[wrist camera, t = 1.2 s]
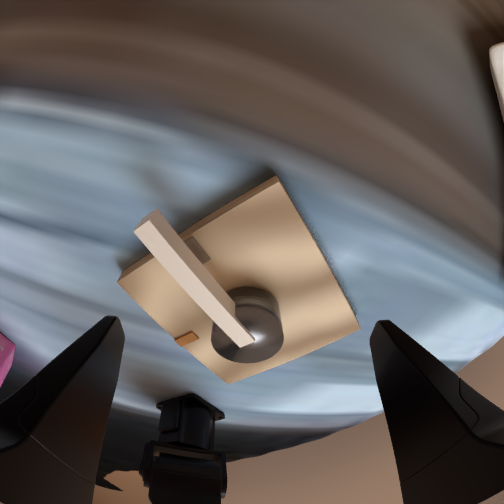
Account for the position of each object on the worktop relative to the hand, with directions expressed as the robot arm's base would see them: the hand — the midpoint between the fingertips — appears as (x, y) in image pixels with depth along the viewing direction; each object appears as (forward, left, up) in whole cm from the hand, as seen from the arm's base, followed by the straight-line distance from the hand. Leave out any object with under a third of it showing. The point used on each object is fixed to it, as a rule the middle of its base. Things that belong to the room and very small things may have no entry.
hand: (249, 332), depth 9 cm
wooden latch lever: (-3, +5, -10) cm, 12 cm away
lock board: (-7, +5, -12) cm, 15 cm away
